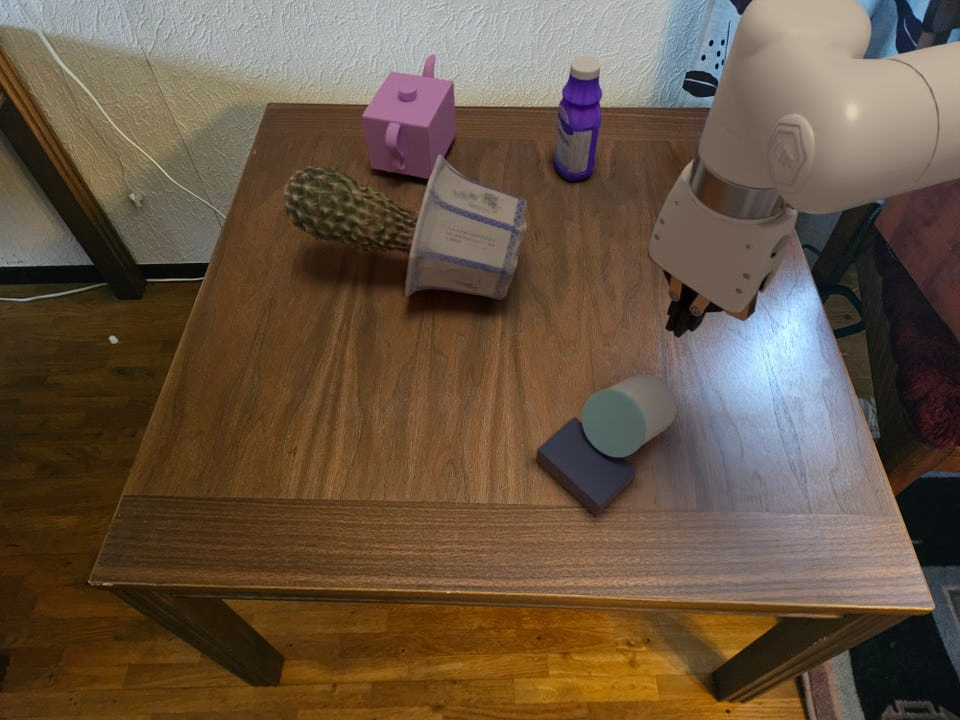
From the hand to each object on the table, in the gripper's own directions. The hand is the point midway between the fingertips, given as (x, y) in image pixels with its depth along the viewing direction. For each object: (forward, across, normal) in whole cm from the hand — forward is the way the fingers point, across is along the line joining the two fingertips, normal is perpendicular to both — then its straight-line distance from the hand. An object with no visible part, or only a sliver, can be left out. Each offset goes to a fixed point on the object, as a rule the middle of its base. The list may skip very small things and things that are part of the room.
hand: (680, 325), depth 62 cm
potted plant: (+16, +36, +6) cm, 40 cm away
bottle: (+17, +36, -26) cm, 47 cm away
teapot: (+17, +56, -11) cm, 59 cm away
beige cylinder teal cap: (+16, 0, +5) cm, 17 cm away
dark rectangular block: (+16, 0, +12) cm, 20 cm away
